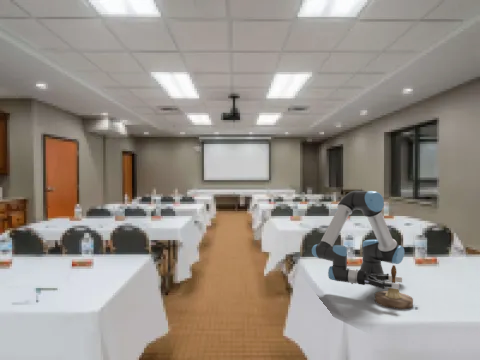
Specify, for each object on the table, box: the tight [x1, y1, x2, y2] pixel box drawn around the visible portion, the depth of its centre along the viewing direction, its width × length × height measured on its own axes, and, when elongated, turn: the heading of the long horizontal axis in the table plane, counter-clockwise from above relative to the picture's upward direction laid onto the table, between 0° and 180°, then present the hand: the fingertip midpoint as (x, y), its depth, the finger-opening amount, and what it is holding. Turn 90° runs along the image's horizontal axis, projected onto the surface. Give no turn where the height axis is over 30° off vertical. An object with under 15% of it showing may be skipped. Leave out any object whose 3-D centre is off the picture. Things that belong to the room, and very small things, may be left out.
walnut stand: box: [374, 290, 414, 310], centre depth 180 cm, size 18×18×3 cm
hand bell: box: [385, 264, 402, 299], centre depth 180 cm, size 8×8×16 cm
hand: (400, 283), depth 179 cm, fingers open, 13 cm apart
